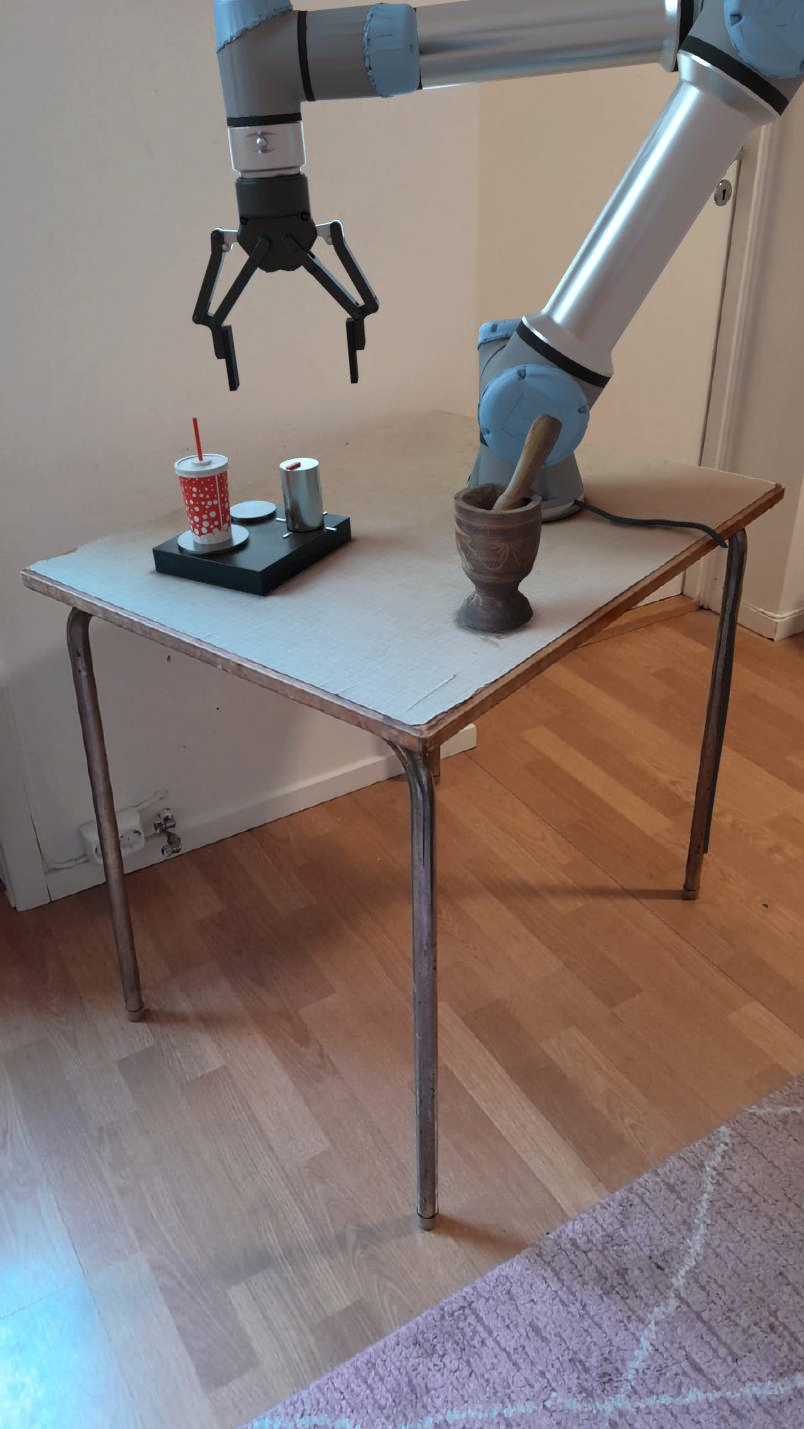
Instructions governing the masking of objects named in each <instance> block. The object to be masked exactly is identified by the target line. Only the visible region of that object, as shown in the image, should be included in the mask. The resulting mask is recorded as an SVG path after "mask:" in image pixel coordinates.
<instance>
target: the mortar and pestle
mask: <svg viewBox="0 0 804 1429" xmlns="http://www.w3.org/2000/svg"><path fill="white" fill-rule="evenodd" d="M561 428H562V423H561V422H560V420H558V419H557V418H555V417H553V416H550V415H548V414H544V413H543V414H540V415H539V416H538V417H537V418H536V419H535V420H534V422H533V424H532V426H531V428H530V431H529V433H528V435H527V438H526V441H525V445H524V447H523V450H522V453H521V457H520V459H519V462H518V464H517V467H516V469H515V472H514V475H513V477H512V479H511V482H510V484H508V483H499V484H498V483H486V484H479V485H474V486H470V487H465V488H463V489H461V490H459V491H457V492H456V493H455V495H453V497H452V499H453V503H454V505H453V506H454V508H453V509H454V522H455V524H454V535H455V536H454V538H455V540H454V541H455V548H456V551H457V553H458V555H459V556H460V560H461V569H462V571H463V572H464V574H465V576H466V577H467V578H468V579H469V581H470V582H471V583H472V584H473V585H474V591H473V592H472V593H470V594H469V595H468V596H466V597H465V598H464V599H463V602H462V604H461V609H460V619H461V622H462V624H463V626H468V627H471V628H474V629H478V630H483V631H487V632H498V633H499V632H509V631H512V630H516V629H519V628H521V627H522V626H524V625H526V624H527V623H528V622H530V620H531V619H532V618H533V616H534V610H533V608H532V606H531V603H530V601H529V599H528V597H527V596H525V595H524V593H523V592H521V591H520V590H519V586H520V584H521V583H522V582H523V581H524V580H525V579H526V578H528V576H529V575H530V574H531V572H532V571H533V568H534V565H535V562H536V559H537V556H538V553H539V549H540V545H541V544H540V543H541V534H542V522H541V520H542V513H541V504H542V498H541V497H540V494H539V493H538V492H537V491H536V490H534V489H532V488H530V487H531V485H532V483H533V482H534V480H535V478H536V476H537V475H538V472H539V470H540V469H541V467H542V465H543V464H544V462H545V461H546V459H547V458H548V456H549V455H550V453H551V451H552V450H553V448H554V446H555V444H556V442H557V440H558V438H559V435H560V431H561Z"/></svg>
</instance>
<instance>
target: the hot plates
mask: <svg viewBox="0 0 804 1429" xmlns="http://www.w3.org/2000/svg"><path fill="white" fill-rule="evenodd" d="M242 502H243V501H242ZM274 504H275V503H274V502H273V503H272V502H271V501H268V500H267V501H266V500H254V501H249V502H243V503H241V502H239V503H237V504H234V505H232V506H230V514H231V520H234V521H237V522H257V521H262V520H265V519H268V518H271V517H272V516H274V515H275V514H276V511H277V510H276V506H275V505H274ZM231 527H232V537H231V538H230V539H228V540H226V541H224V542H220V543H216V544H200V543H196V542H195V541H194V540H193V537H192V533H191V530H189V529H187V530H188V531H187V530H185V531H186V532H185V531H183V532H184V533H183V532H182V533H183V534H181V533H180V534H181V535H180V536H179V538H178V540H177V544H178V548H179V549H180V550H181V551H183V552H185V553H187V554H192V555H202V556H205V555H218V554H223V553H228V552H231V551H234V550H237V549H239V548H241V547H243V546H244V545H245V544H247V543H248V541H249V532H248V530H247V529H245V528H244V527H241V526H238V525H233V524H231Z"/></svg>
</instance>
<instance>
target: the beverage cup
mask: <svg viewBox="0 0 804 1429" xmlns="http://www.w3.org/2000/svg"><path fill="white" fill-rule="evenodd" d="M191 419H192V425H193V431H194V440H195V445H196V452H197V454H194V455H189V456H184V457H183V458H180V459H179V458H178V460H176V461H174V464H173V467H174V470H175V474H176V475H177V476H178V480H179V484H180V490H181V494H182V498H183V501H184V507H185V510H186V515H187V519H188V524H189V529H191V533H192V537H193V540H194V541H195V542H196V543H200V544H216V543H220V542H224V541H226V540H228V539H230V538H231V537H232V527H231V514H230V508H231V503H230V502H231V501H230V491H229V478H228V469H229V466H230V464H229V458H228V457H227V456H225V455H223V454H219V453H203V451H202V450H203V449H202V445H201V439H200V438H201V437H200V432H199V425H198V418H197V416H193V417H192V418H191Z"/></svg>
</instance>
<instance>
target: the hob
mask: <svg viewBox="0 0 804 1429" xmlns="http://www.w3.org/2000/svg"><path fill="white" fill-rule="evenodd" d="M249 501H255V499H254V500H253V499H249V498H248V499H245V500H243V501H241V502H240V503H243V502H249ZM273 504H274V505H275V506H276V510H277V511H276V514H275V515H274V516H272V517H271V518H268V519H265V520H262V521H257V522H237V521H234V520H231V524H233V525H238V526H241V527H244V528H245V529H247V530H248V532H249V541H248V543H247V544H245V545H244V546H243V547H241V548H239V549H237V550H234V551H231V552H228V553H223V554H218V555H205V556H202V555H192V554H187V553H185V552H183V551H181V550H180V549H179V548H178V544H177V540H178V538H179V536H180V535H181V534H183V533H184V532H186V531H188V530H191V528H189V529H186V530H185V531H183V532H181V533H178V535H175V536H174V537H172V538H169V539H167V540H165V541H164V542H162V543H160V544H158V545H156V546H153V547H152V548H151V550H152V556H153V561H154V566H155V571H156V573H160V574H164V575H168V576H172V577H173V576H174V577H178V578H182V579H186V580H191V581H195V582H200V583H204V584H207V585H208V584H209V585H213V586H218V587H222V588H227V589H229V590H235V591H239V592H243V593H248V594H252V595H255V596H256V595H257V596H261V597H264V596H266V595H267V594H268V593H271V592H272V591H273V590H275V589H277V588H278V587H281V585H283V584H285V583H287V582H288V581H289V580H291V579H292V578H295V577H296V576H297V575H299V574H301V573H302V572H303V571H305V570H306V569H308V568H310V567H312V566H313V565H314V564H316V563H318V562H319V561H321V560H323V559H324V558H326V557H327V556H329V555H330V554H332V553H333V552H335V551H336V550H338V549H340V548H342V547H343V546H344V545H346V544H347V543H349V542H351V541H352V540H353V538H352V524H351V517H350V516H346V515H345V516H344V515H340V514H333V513H328V511H323V512H324V525H323V526H322V527H321V528H319V529H316V530H312V531H305V532H298V531H292V530H290V529H288V528H287V526H286V518H285V509H284V504H283V505H282V504H278V503H273Z"/></svg>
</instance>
